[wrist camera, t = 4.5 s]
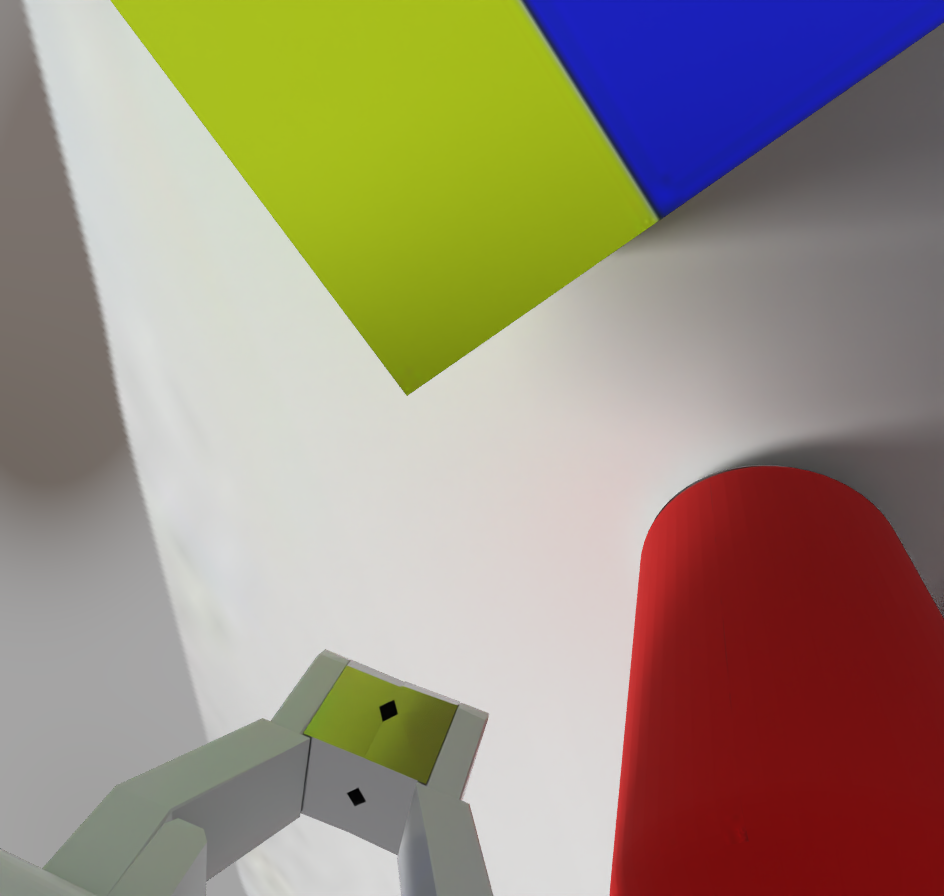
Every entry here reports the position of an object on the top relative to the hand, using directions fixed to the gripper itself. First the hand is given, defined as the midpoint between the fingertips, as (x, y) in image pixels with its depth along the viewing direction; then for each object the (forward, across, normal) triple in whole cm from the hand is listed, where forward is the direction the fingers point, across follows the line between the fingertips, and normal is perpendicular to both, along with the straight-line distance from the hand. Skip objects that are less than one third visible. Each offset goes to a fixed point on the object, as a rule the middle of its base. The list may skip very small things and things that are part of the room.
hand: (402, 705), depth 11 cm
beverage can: (+9, -7, 0) cm, 12 cm away
